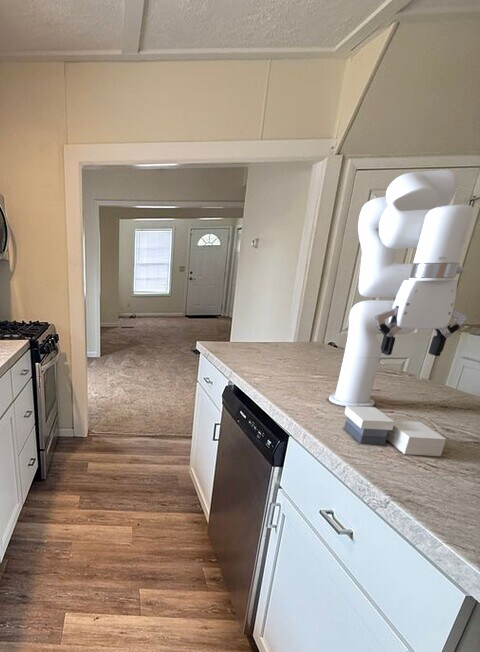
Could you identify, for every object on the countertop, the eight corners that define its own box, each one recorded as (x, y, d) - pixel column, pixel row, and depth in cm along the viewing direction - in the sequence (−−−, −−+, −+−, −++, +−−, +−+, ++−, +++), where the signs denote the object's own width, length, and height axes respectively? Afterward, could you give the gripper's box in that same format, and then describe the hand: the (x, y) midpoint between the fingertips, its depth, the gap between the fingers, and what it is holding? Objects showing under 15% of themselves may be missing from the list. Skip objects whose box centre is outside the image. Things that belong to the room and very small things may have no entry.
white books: (382, 436, 104) (387, 420, 102) (415, 438, 102) (420, 421, 101) (404, 454, 94) (409, 436, 92) (440, 456, 92) (446, 439, 91)
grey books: (344, 427, 110) (347, 413, 108) (366, 428, 109) (369, 415, 107) (360, 443, 100) (363, 428, 98) (384, 444, 99) (388, 429, 97)
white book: (344, 413, 108) (346, 405, 107) (372, 415, 107) (374, 407, 106) (360, 428, 98) (362, 420, 97) (392, 430, 97) (394, 421, 96)
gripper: (468, 272, 86) (442, 352, 92) (378, 273, 89) (360, 350, 95) (493, 272, 79) (464, 358, 85) (395, 273, 82) (374, 357, 88)
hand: (409, 354), depth 90 cm, fingers open, 9 cm apart
